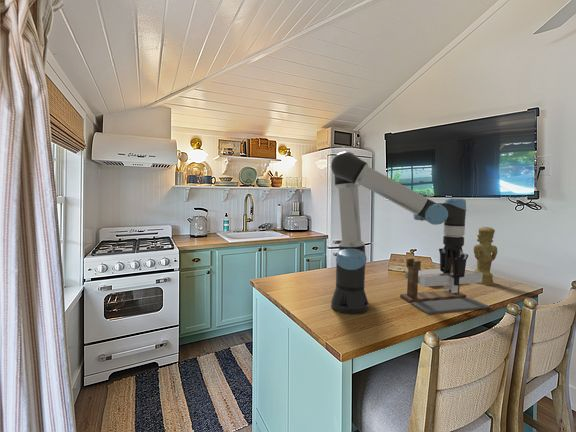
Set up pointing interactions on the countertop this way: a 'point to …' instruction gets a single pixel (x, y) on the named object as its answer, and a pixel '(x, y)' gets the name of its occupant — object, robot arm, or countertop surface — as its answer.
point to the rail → (449, 278)
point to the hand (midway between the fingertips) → (450, 290)
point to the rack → (424, 296)
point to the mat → (449, 305)
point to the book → (424, 272)
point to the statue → (485, 254)
